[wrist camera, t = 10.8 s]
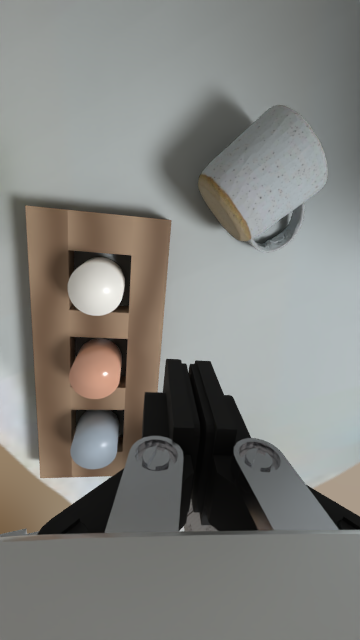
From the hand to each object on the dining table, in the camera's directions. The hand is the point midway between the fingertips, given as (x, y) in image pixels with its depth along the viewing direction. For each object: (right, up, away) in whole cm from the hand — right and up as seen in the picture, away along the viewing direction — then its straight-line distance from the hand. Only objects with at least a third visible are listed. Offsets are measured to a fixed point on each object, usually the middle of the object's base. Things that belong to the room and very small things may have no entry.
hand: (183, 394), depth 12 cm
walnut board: (-8, -1, +21) cm, 22 cm away
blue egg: (-9, -9, +22) cm, 25 cm away
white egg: (-8, +7, +17) cm, 20 cm away
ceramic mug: (+7, +15, +18) cm, 24 cm away
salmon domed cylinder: (-8, -1, +19) cm, 21 cm away
